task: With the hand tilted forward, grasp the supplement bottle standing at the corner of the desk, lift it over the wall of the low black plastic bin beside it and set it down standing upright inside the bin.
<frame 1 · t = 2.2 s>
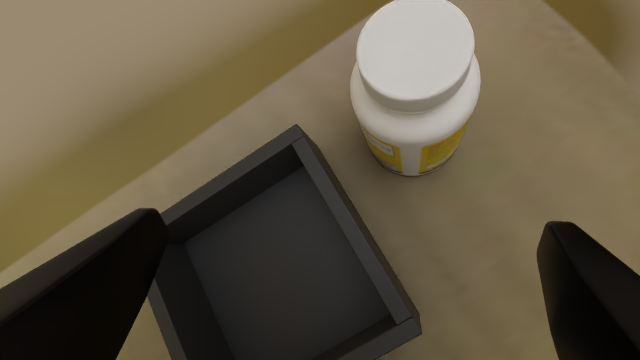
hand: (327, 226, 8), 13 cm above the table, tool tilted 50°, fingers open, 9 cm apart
supplement bottle: (411, 134, 22), on the table
bin: (284, 272, 22), on the table
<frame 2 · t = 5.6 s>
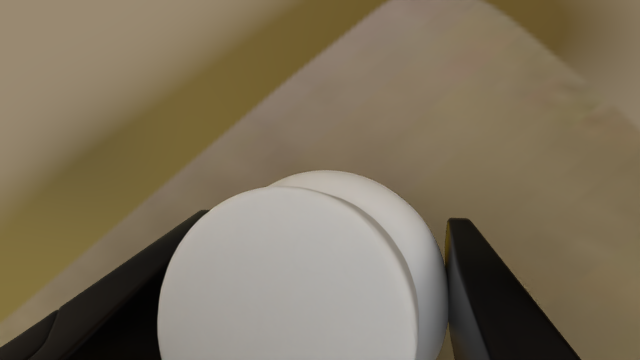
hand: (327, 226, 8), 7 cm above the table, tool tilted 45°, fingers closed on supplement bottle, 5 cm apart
supplement bottle: (362, 259, 15), on the table, touching gripper
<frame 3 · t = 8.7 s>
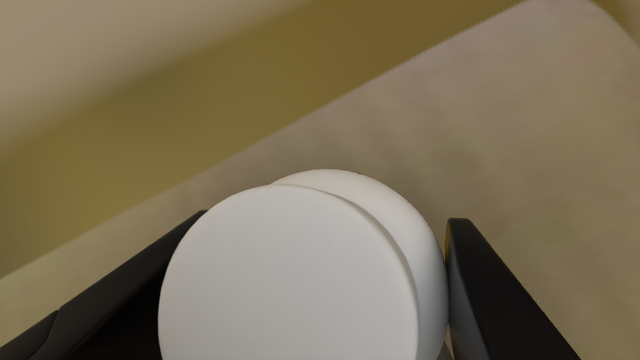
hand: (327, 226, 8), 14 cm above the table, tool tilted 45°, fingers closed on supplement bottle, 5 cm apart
supplement bottle: (362, 258, 15), point 7 cm above the table, touching gripper
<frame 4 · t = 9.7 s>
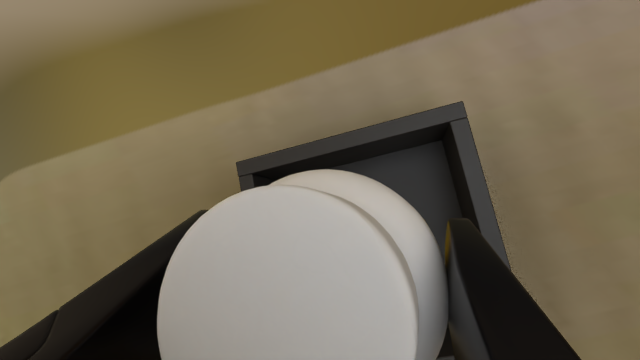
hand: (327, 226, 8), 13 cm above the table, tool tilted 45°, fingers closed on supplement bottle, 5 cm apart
supplement bottle: (362, 258, 15), point 6 cm above the table, touching gripper
bin: (376, 244, 21), on the table
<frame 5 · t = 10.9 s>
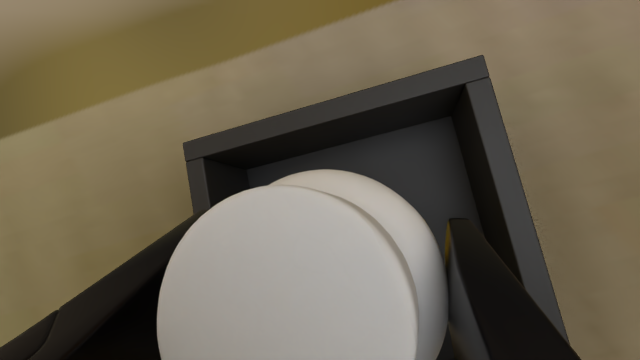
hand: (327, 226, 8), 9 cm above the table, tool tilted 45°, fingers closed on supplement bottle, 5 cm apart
supplement bottle: (362, 258, 15), point 2 cm above the table, touching gripper
bin: (367, 248, 17), on the table
when the fingers open (7 cm above the table, at t = 11.9 s): supplement bottle stays where it is, resting on bin.
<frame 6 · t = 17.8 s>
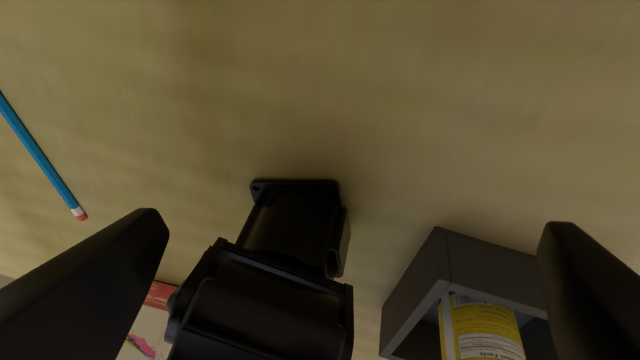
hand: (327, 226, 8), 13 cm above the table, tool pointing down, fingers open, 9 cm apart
supplement bottle: (472, 295, 29), resting on bin
pencil: (33, 136, 28), on the table
ink cartridge box: (174, 302, 40), on the table
bin: (473, 293, 29), on the table
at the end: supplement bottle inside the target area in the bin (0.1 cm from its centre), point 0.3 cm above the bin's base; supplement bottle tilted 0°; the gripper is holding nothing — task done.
